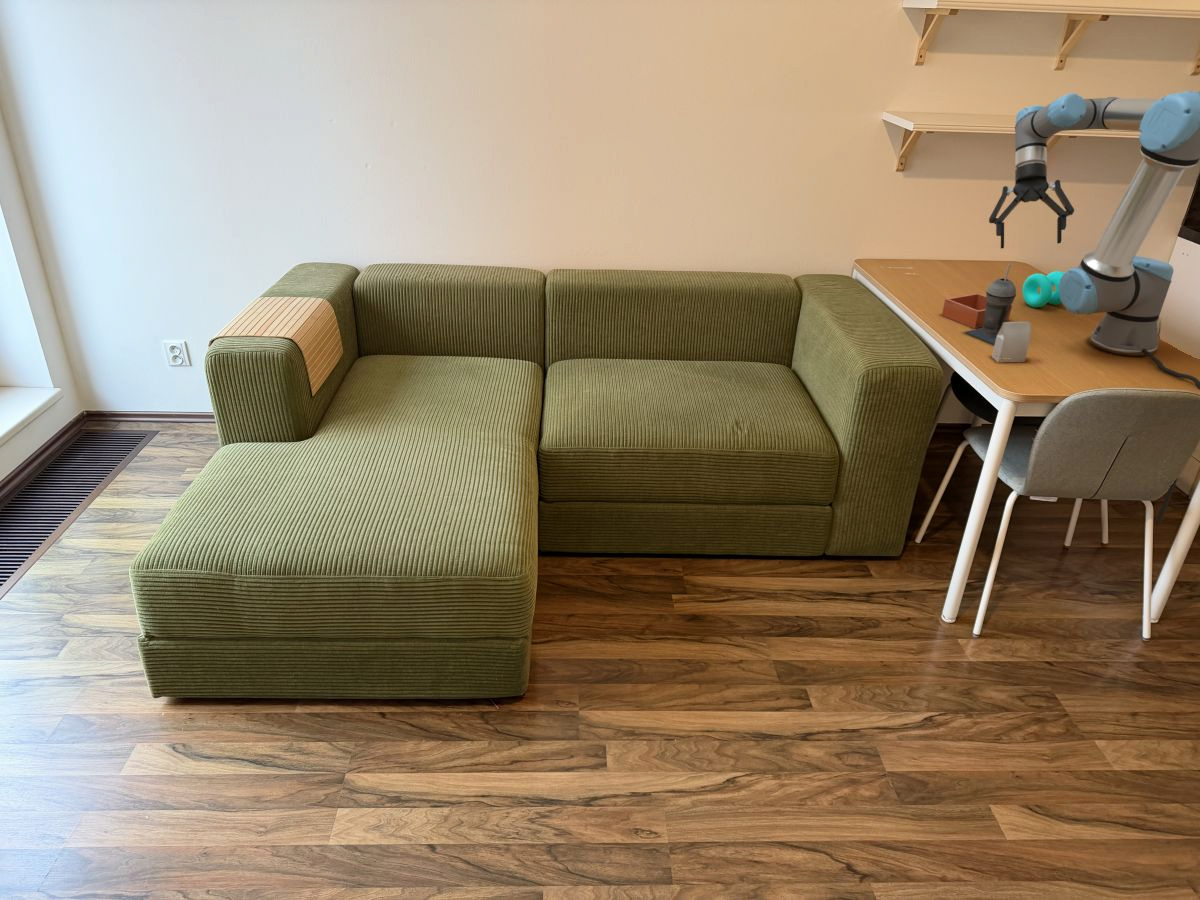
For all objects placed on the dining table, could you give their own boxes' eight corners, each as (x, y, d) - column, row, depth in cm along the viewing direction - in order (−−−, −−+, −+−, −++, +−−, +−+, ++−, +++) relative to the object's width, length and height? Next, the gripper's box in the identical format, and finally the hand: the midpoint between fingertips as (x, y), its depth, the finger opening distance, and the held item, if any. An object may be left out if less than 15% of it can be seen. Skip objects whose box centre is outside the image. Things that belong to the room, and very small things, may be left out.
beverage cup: (1001, 330, 222) (1017, 259, 213) (1010, 339, 216) (1027, 266, 206) (973, 329, 223) (989, 258, 213) (982, 339, 217) (998, 266, 207)
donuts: (1069, 308, 238) (1077, 275, 234) (1041, 312, 236) (1049, 279, 231) (1043, 298, 247) (1052, 266, 242) (1016, 302, 244) (1024, 270, 240)
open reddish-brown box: (1008, 321, 229) (1012, 305, 227) (974, 328, 225) (978, 311, 223) (974, 309, 240) (977, 293, 237) (941, 315, 235) (945, 298, 233)
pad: (1018, 339, 217) (1019, 338, 217) (993, 345, 214) (994, 343, 214) (989, 328, 225) (990, 326, 225) (965, 333, 222) (965, 331, 222)
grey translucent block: (1024, 361, 204) (1034, 324, 199) (998, 362, 204) (1007, 325, 199) (1017, 356, 207) (1026, 319, 202) (991, 356, 207) (1000, 320, 202)
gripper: (1082, 164, 215) (1082, 243, 214) (979, 177, 225) (979, 252, 225) (1086, 154, 208) (1085, 236, 207) (980, 168, 218) (979, 245, 218)
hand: (1030, 244), depth 216 cm, fingers open, 13 cm apart
